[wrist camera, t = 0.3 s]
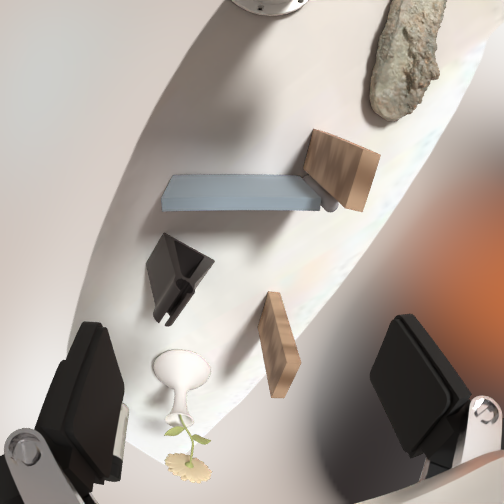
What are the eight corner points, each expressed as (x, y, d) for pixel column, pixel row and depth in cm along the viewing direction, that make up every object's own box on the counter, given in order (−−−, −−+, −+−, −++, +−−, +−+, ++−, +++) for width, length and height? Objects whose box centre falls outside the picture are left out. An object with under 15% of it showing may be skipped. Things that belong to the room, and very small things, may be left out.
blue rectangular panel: (314, 175, 43) (339, 197, 35) (313, 187, 44) (337, 212, 35) (172, 174, 41) (161, 196, 32) (173, 186, 42) (162, 212, 33)
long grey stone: (446, -26, 28) (400, -56, 27) (463, -34, 24) (414, -67, 22) (406, 132, 42) (351, 105, 40) (424, 135, 37) (366, 104, 35)
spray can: (116, 396, 63) (103, 470, 46) (135, 411, 66) (126, 481, 49) (98, 402, 64) (84, 471, 46) (117, 416, 67) (107, 482, 50)
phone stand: (146, 261, 48) (130, 309, 37) (164, 232, 46) (150, 275, 35) (195, 287, 51) (192, 338, 40) (214, 260, 49) (215, 308, 38)
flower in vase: (143, 361, 58) (126, 472, 36) (181, 335, 55) (173, 459, 33) (189, 391, 63) (188, 494, 41) (228, 369, 61) (238, 481, 39)
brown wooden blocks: (313, 128, 41) (363, 149, 27) (326, 132, 41) (380, 154, 27) (257, 327, 56) (271, 398, 42) (268, 327, 56) (284, 398, 42)
